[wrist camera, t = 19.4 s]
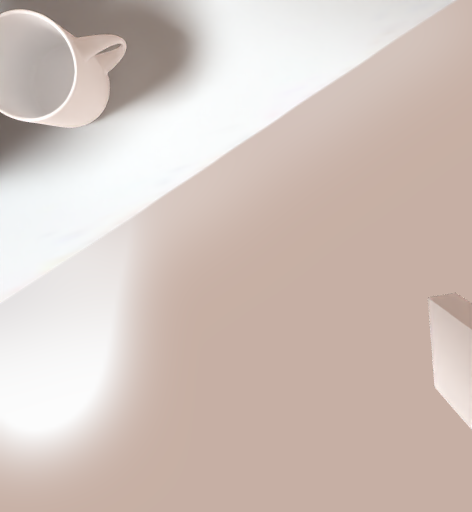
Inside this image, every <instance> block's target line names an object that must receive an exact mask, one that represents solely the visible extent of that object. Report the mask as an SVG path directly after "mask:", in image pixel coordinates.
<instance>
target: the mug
mask: <svg viewBox="0 0 472 512" xmlns="http://www.w3.org/2000/svg"><path fill="white" fill-rule="evenodd" d="M115 44H121V45H120V46H119V47H118V48H116V49H114V50H111V51H108V52H104V53H99V52H101V51H102V50H104V49H106V48H108V47H110V46H113V45H115ZM126 48H127V45H126V42H125V40H124V39H123V38H121V37H119V36H116V35H110V34H101V35H91V36H84V37H77V38H76V37H75V36H73V35H72V34H70V33H69V32H68V31H66V30H65V29H64V28H62V27H61V26H60V25H58V24H57V23H55V22H54V21H53V20H51V19H50V18H48V17H47V16H45V15H43V14H41V13H38V12H35V11H31V10H24V9H16V10H10V11H6V12H3V13H1V14H0V112H1V113H3V114H4V115H6V116H8V117H11V118H13V119H16V120H20V121H26V122H32V123H39V124H45V125H51V126H58V127H65V128H75V127H81V126H84V125H87V124H89V123H91V122H93V121H94V120H95V119H97V118H98V117H99V116H100V115H101V113H102V112H103V111H104V109H105V107H106V105H107V102H108V99H109V95H110V82H109V77H108V72H109V71H110V70H111V69H113V68H114V67H115V66H116V65H117V64H118V63H119V61H120V60H121V59H122V57H123V56H124V54H125V52H126ZM97 53H99V54H97Z"/></svg>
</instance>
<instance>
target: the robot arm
mask: <svg viewBox="0 0 472 512" xmlns="http://www.w3.org/2000/svg"><path fill="white" fill-rule="evenodd" d="M428 306H429V319H430V332H431V345H432V358H433V371H434V384H435V388H436V389H437V390H438V391H439V392H440V394H441V395H442V396H443V397H444V398H445V399H446V401H447V402H448V403H449V404H450V405H451V406H452V408H453V409H454V410H455V411H456V412H457V413H458V414H459V415H460V417H461V418H462V419H463V420H464V421H465V423H466V424H467V425H468V426H469V427H470V428H471V430H472V303H471V302H469V301H468V300H466V299H465V298H463V297H461V296H460V295H458V294H457V293H451V294H445V295H440V296H433V297H428Z"/></svg>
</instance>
